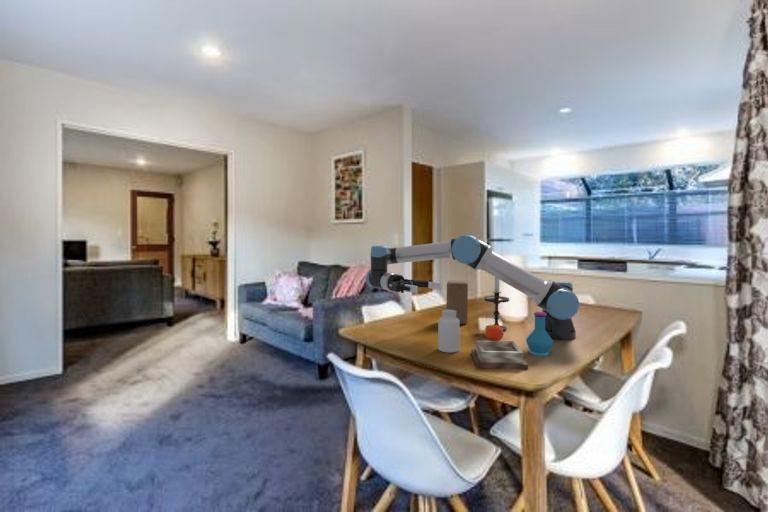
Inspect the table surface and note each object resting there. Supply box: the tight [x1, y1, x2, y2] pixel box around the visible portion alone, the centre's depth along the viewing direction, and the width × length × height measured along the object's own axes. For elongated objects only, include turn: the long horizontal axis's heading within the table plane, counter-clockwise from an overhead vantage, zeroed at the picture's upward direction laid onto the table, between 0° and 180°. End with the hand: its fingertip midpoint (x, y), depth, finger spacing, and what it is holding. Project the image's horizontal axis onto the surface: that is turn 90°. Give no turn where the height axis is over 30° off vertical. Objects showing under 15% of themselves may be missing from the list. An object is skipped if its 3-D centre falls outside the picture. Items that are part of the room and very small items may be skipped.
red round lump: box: [485, 323, 504, 341], centre depth 160 cm, size 8×7×7 cm
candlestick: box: [484, 277, 510, 333], centre depth 178 cm, size 11×11×35 cm
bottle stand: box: [470, 340, 529, 370], centre depth 136 cm, size 16×16×5 cm
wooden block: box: [446, 279, 469, 325], centre depth 194 cm, size 10×10×20 cm
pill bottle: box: [437, 308, 461, 354], centre depth 148 cm, size 8×8×15 cm
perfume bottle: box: [525, 311, 554, 357], centre depth 144 cm, size 9×9×15 cm
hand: (429, 288), depth 155 cm, fingers open, 13 cm apart
